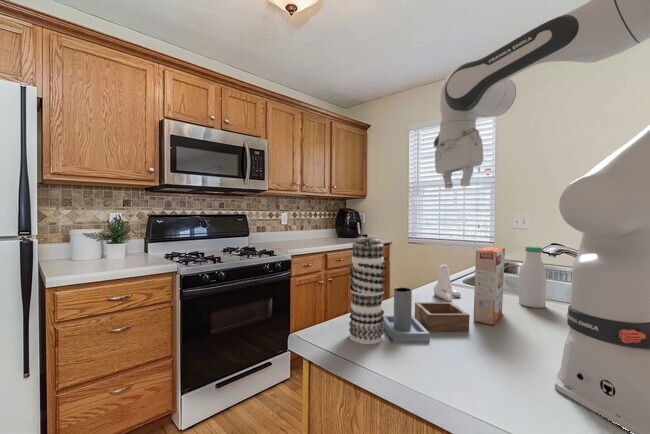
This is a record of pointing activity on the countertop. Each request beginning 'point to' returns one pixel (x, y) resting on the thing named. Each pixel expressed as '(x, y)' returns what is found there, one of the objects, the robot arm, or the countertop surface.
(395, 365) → the countertop surface
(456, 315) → the box
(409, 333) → the tray
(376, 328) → the decorative candle
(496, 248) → the cracker box
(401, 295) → the grey cylinder
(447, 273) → the sitting furry creature
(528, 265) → the milk bottle
